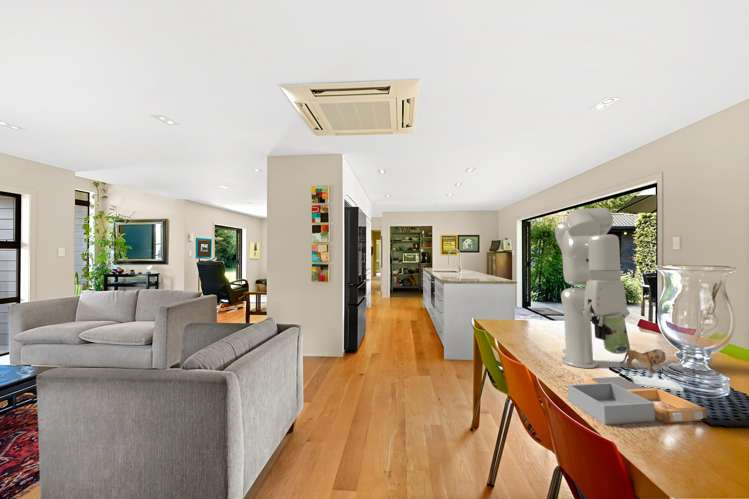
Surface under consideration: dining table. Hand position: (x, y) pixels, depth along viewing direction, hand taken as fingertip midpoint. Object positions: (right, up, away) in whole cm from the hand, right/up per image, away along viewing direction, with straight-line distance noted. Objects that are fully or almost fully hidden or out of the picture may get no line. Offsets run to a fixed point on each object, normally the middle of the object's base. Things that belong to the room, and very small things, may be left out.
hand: (607, 337), depth 93 cm
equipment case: (+15, -21, +6) cm, 26 cm away
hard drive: (+29, -22, +17) cm, 40 cm away
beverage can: (+3, -4, -1) cm, 5 cm away
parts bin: (0, -21, -1) cm, 21 cm away
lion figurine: (+37, -21, +31) cm, 53 cm away
